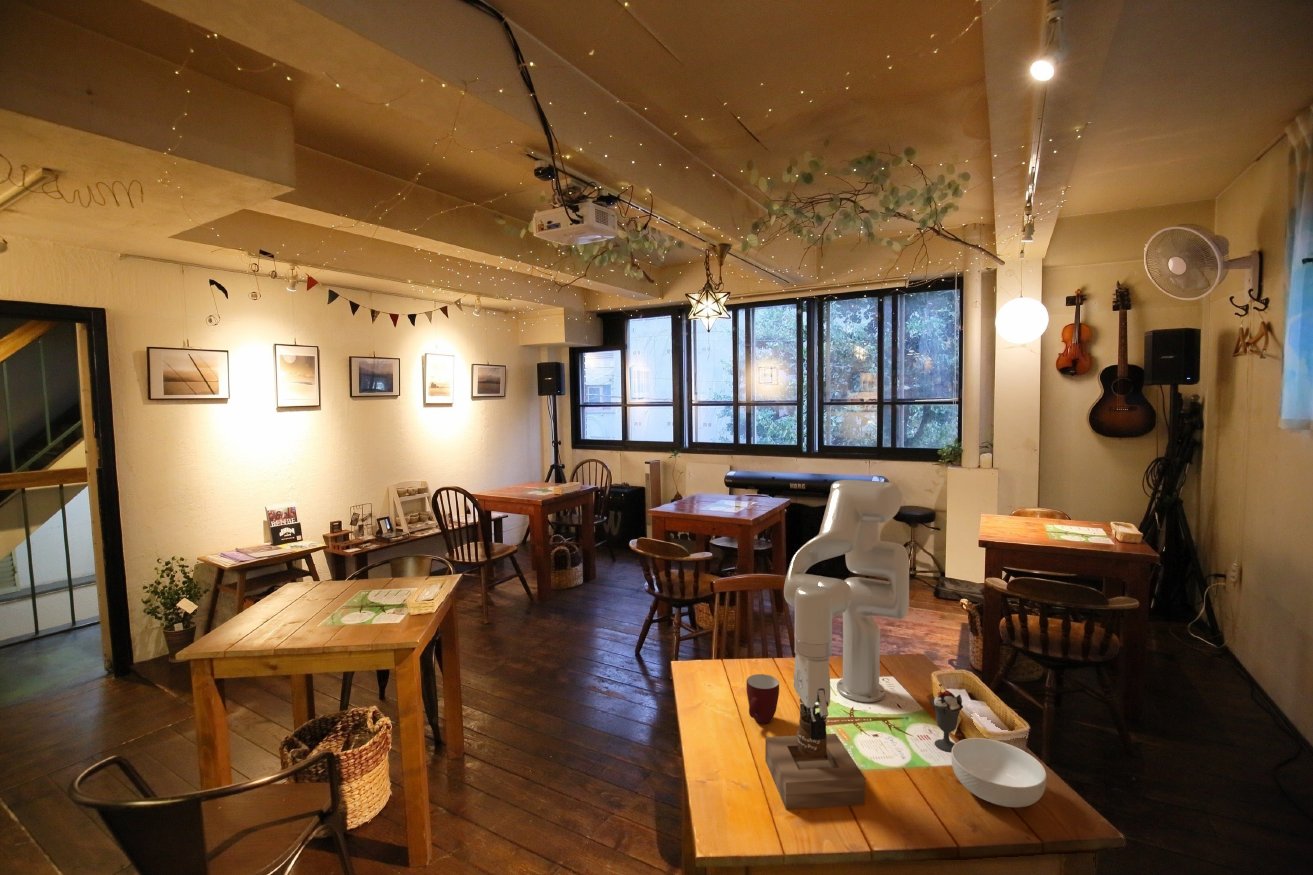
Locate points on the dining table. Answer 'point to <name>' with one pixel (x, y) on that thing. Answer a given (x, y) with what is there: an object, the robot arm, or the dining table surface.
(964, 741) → the cereal bowl
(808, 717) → the utensil holder
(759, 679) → the mug
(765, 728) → the dining table surface
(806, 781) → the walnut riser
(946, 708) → the sundae
